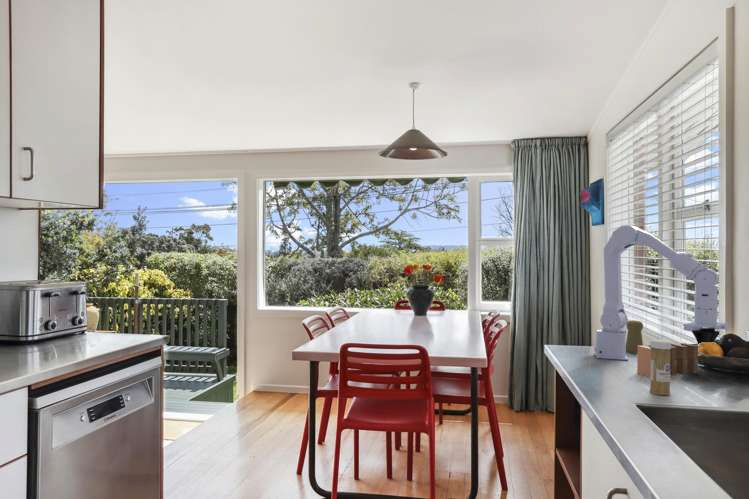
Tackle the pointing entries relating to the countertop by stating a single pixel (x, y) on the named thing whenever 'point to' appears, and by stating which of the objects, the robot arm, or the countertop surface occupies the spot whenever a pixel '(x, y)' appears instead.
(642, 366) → the domino
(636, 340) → the cork
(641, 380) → the countertop surface
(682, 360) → the domino
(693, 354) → the domino
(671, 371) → the domino
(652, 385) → the toothpick jar
